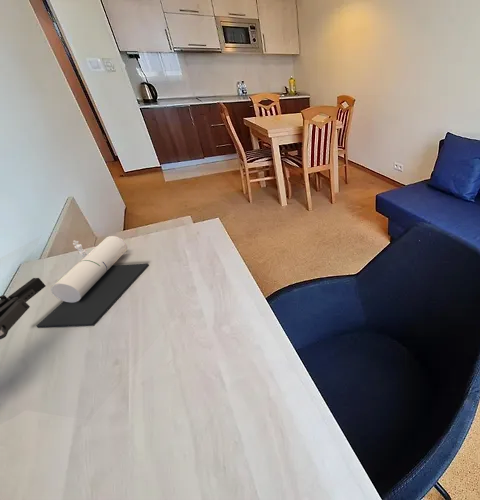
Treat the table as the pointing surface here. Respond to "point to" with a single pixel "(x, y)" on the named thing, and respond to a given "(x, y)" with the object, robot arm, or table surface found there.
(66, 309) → the mat
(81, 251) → the chess piece
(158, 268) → the table surface
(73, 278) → the cylindrical container
